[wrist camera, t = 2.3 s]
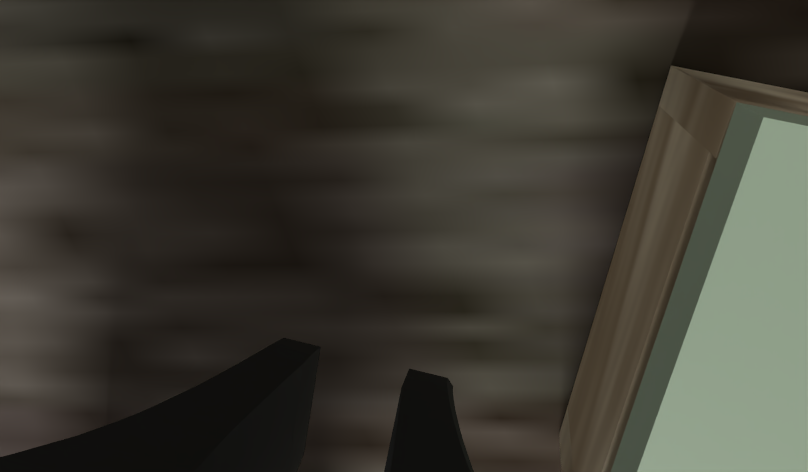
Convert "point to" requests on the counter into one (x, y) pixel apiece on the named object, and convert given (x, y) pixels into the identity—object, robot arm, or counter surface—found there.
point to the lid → (735, 318)
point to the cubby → (653, 254)
